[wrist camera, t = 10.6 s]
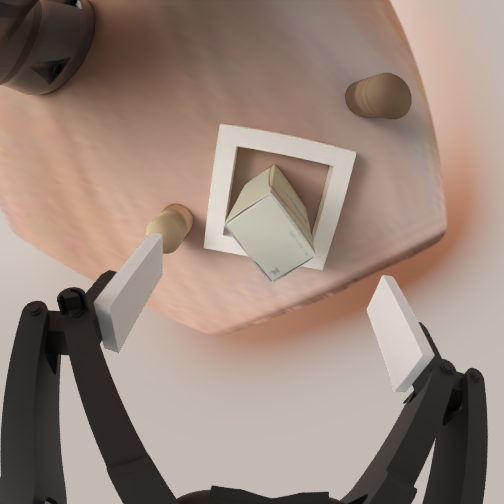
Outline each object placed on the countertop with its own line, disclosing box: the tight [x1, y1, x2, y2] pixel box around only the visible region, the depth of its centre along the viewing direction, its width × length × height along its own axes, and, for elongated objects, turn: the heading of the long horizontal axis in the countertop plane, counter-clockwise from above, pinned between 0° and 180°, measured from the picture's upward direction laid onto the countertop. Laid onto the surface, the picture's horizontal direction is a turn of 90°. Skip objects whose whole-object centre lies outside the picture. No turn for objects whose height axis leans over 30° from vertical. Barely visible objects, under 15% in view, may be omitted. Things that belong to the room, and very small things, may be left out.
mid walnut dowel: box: [345, 73, 411, 119], centre depth 22 cm, size 4×4×8 cm
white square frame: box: [204, 124, 356, 270], centre depth 31 cm, size 14×14×2 cm
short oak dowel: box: [146, 204, 193, 254], centre depth 32 cm, size 4×4×5 cm
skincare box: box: [224, 164, 316, 283], centre depth 26 cm, size 6×4×12 cm
